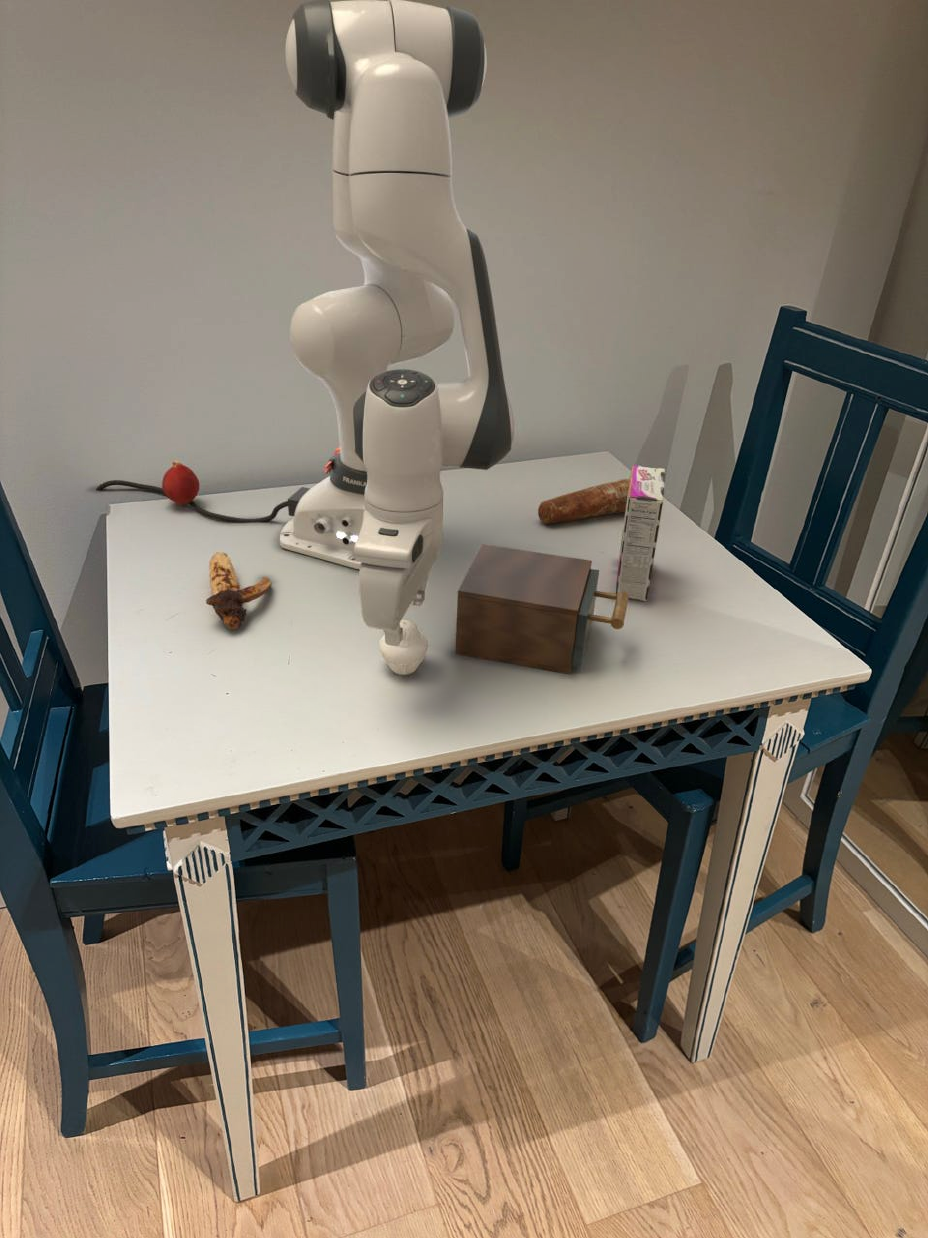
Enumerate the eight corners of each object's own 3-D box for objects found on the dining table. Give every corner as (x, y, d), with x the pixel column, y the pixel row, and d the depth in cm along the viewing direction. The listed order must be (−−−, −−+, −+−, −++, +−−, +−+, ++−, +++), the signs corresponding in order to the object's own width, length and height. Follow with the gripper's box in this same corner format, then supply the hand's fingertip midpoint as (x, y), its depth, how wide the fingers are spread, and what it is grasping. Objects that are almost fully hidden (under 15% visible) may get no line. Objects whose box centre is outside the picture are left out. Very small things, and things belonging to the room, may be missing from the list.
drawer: (624, 624, 122) (632, 575, 118) (615, 673, 112) (623, 621, 108) (493, 602, 125) (497, 553, 121) (473, 648, 116) (476, 597, 111)
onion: (186, 495, 153) (180, 451, 148) (209, 504, 150) (203, 460, 146) (158, 506, 149) (151, 461, 144) (181, 516, 146) (174, 470, 142)
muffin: (397, 648, 117) (397, 603, 113) (437, 663, 114) (438, 617, 110) (369, 671, 112) (368, 625, 108) (410, 688, 109) (410, 641, 106)
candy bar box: (617, 562, 139) (632, 463, 130) (649, 566, 138) (666, 467, 129) (612, 598, 129) (628, 495, 120) (647, 603, 129) (665, 499, 120)
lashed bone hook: (281, 630, 120) (264, 563, 134) (280, 600, 117) (263, 536, 131) (210, 638, 117) (200, 569, 131) (207, 608, 114) (197, 541, 129)
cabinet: (583, 620, 124) (591, 560, 119) (569, 674, 113) (578, 610, 108) (478, 603, 127) (481, 543, 122) (455, 653, 116) (457, 590, 111)
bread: (644, 514, 153) (649, 484, 150) (545, 530, 147) (548, 500, 144) (625, 499, 158) (629, 470, 155) (528, 514, 151) (531, 484, 148)
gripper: (404, 481, 111) (406, 578, 118) (347, 555, 94) (353, 663, 101) (453, 486, 109) (452, 584, 117) (405, 563, 92) (406, 672, 100)
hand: (405, 622), depth 109 cm, fingers open, 8 cm apart
